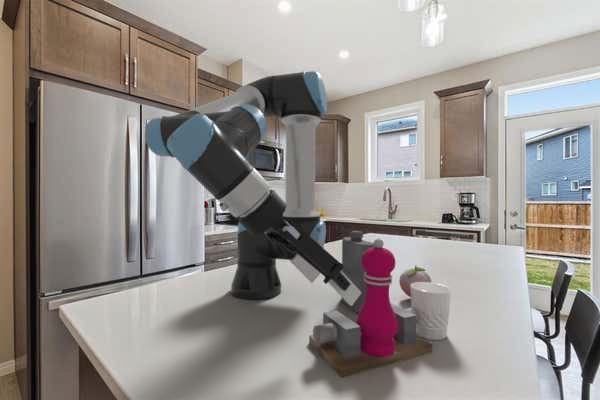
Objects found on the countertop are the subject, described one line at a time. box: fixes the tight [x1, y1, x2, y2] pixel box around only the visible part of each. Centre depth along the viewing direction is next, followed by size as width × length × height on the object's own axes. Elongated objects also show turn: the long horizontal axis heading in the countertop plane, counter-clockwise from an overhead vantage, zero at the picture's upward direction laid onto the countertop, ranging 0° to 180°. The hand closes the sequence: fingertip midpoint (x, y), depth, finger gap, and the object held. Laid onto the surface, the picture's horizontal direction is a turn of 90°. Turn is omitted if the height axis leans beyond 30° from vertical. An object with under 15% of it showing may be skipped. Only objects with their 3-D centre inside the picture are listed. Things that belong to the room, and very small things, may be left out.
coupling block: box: [308, 302, 433, 378], centre depth 56 cm, size 12×23×6 cm, turn 114°
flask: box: [341, 230, 375, 314], centre depth 79 cm, size 15×6×20 cm, turn 13°
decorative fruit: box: [398, 265, 432, 298], centre depth 84 cm, size 9×8×10 cm
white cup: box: [410, 281, 452, 341], centre depth 63 cm, size 8×8×10 cm
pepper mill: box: [356, 238, 398, 356], centre depth 53 cm, size 7×7×20 cm
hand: (333, 287), depth 53 cm, fingers open, 13 cm apart
